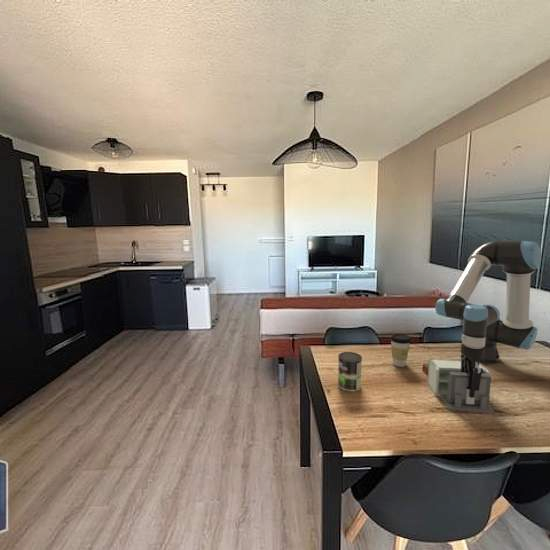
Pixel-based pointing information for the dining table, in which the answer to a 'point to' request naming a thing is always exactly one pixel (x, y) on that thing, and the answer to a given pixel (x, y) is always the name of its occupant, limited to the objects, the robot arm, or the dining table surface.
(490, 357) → the robot arm
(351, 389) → the coffee can
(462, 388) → the grey rectangular panel
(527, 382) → the dining table surface
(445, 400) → the cabinet
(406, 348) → the coffee cup
